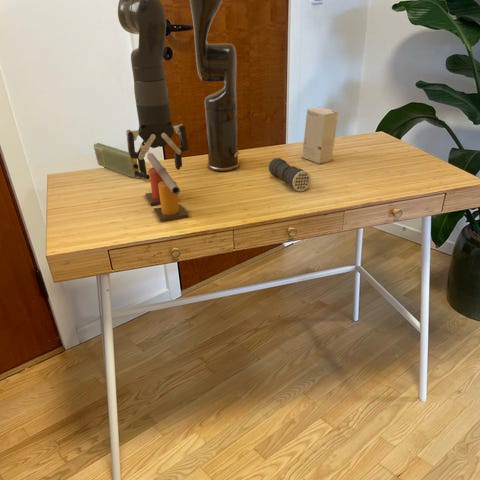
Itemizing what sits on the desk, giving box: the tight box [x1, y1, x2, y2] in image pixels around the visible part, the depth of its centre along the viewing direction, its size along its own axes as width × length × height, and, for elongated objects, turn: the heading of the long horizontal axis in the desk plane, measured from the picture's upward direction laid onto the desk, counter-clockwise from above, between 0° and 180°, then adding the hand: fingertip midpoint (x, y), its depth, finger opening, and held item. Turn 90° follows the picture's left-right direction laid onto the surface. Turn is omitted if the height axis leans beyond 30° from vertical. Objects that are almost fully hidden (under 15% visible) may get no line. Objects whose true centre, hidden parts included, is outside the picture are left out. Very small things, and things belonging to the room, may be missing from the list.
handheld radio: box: [93, 142, 150, 180], centre depth 140 cm, size 7×3×25 cm
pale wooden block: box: [301, 106, 339, 165], centre depth 143 cm, size 8×6×15 cm
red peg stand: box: [145, 166, 167, 206], centre depth 122 cm, size 7×7×8 cm
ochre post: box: [153, 180, 189, 223], centre depth 114 cm, size 7×7×8 cm
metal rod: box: [146, 152, 181, 195], centre depth 115 cm, size 2×27×2 cm, turn 21°
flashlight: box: [268, 157, 311, 192], centre depth 130 cm, size 15×5×5 cm, turn 25°
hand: (161, 171), depth 115 cm, fingers open, 8 cm apart
